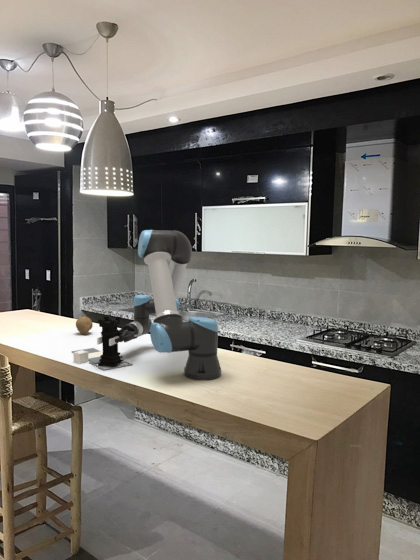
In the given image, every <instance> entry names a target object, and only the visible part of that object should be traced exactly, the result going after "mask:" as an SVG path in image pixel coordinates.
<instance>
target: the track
mask: <svg viewBox="0 0 420 560" xmlns="http://www.w3.org/2000/svg"><path fill="white" fill-rule="evenodd" d="M81 350H83V351H87V352H88V363H89V362H93V363H94V364H96V365H98V363H100V362H99V360H100V359H101V358H100V356H101V355H103V351H101V350H99V349H96V348H95V347H90V348H84V349H78V350H71V353H72V354H73V352H76V351H81Z"/></svg>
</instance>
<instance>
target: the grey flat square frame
mask: <svg viewBox="0 0 420 560" xmlns="http://www.w3.org/2000/svg"><path fill="white" fill-rule="evenodd" d="M121 363H125V364H123V365H120V366H119V365H117V366H116V367H108V368H103V367H102V366H98V364H94V363H93V362H89V361H88V364H90V365H92V366H93V365H94V367H95V366H96V367H95V368H97V367H98V368H97V369H99V370H102V371H103V372H105V371H110V370H115V369H120V368H125V367H129V366H133V365H134V364H133V363H132V362H128V361H126V360H124V359H123V361H122V362H121Z"/></svg>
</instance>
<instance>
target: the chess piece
mask: <svg viewBox="0 0 420 560" xmlns="http://www.w3.org/2000/svg"><path fill="white" fill-rule="evenodd" d="M121 319H122V316H119V315H117V316H116V317H115V318H110V316H109V315H104V316H103V318H98V319H97V323H98V326H99V327H100V328H101V332H100V334H102V343H101V344H102V352H103V355H101V356H100V358H101V359H100V360H99V362H100V363H98V364H97V365H98V366H100V367H109V368H113V367H118V366H119V365H120V364H121V363H123V362H122V361H123V360H124V359H123V356H122V355H121V352H119V343H116V344H114V345H111V346H109V339H111V338H114V337H116V336H118V333H117V332H118V331H119V330H120V329H118V326H119V325H120V324H121V323H120V321H121Z"/></svg>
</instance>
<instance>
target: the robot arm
mask: <svg viewBox="0 0 420 560" xmlns="http://www.w3.org/2000/svg"><path fill="white" fill-rule="evenodd" d="M137 245H138V246H137V254H138V257H139V258H141V259H143V262H144V263H145V265H147V266H148V271H149V277H150V283H151V290H152V297H153V298H151V297H150V295H149V294H137V295H135V296H134V298H133V321H132V322H129V323H127V324H124V325H123V326H122V327H121V328H120V329H118V330H119V331H118V332H117V333H118V336H116V337H114V338H111V339H109V346H111V345H114V344H116V343H118V344H119V343H128V342H130V341H132V340H135V339H138V338H139V337H141V336H144V335H147V334H148V333H150V334H149V336H150V337H149V338H150V341H151V345H152V346H153V348H154V350H155V351H156V352H158V353H163V354H164V353H165V354H166V353H167V354H169V353H175V352H176V353H177V352H186V351H187V352H188V357H187V359H186V363H185V366H184V367H183V375H184V377H187V378H188V379H193V380H198V381H201V380H202V381H207V380H214V379H218V378H220V377H221V375H222V368H221V365H220V364H221V363H220V361H219V358H218V343H219V342H218V339H219V338H218V337H219V335H218V334H219V328H218V324H219V323H218V322H217V320H216V319H212V318H210V317H203V316H189V318H188V320H187V321H186V320H185V321H184V320H183V319H184V318H183V315H182V314H180V313H179V309H180V302H179V299H178V295H179V292H180V288H181V284H182V283H183V282H182V280H183V277H184V274H185V271H186V268H187V265H188V264H189V263H190V262H191V260H192V259H191V258H192V256H193V250H192V249H193V248H192V245H191V242H190V240H189V238H188V237H187V235H185V234H184V233H183V232H181V231H179V230H174V229H173V230H166V229H165V230H163V229H162V230H157V229H156V230H155V229H145V230H142V231H141V233H140V234H139V238H138V243H137ZM150 315H156V316H155V317H154V319H153V320H151V319H150ZM152 321H153V322H152ZM100 334H101V333H100ZM96 343H97V345H101V344H103V343H102V334H101V336H99V337H97V338H96Z"/></svg>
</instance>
